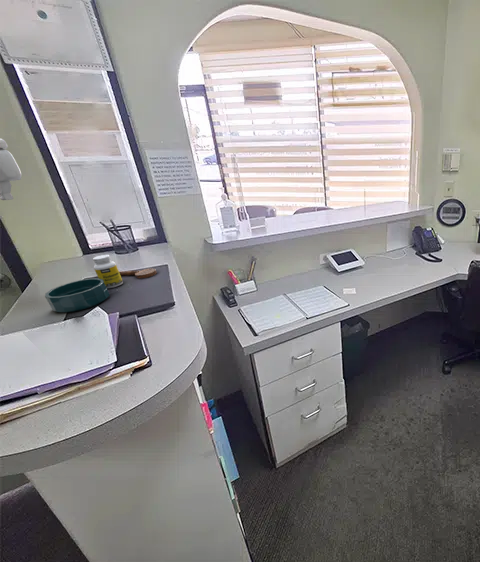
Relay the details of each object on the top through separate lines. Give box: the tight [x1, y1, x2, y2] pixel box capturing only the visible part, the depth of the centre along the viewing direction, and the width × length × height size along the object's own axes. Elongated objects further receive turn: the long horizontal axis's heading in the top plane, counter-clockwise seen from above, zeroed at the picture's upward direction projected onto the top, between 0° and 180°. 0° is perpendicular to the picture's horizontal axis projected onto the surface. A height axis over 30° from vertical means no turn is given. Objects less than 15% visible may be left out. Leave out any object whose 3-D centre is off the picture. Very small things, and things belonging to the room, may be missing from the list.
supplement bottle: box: [92, 254, 124, 289], centre depth 97 cm, size 5×5×10 cm
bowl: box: [44, 277, 110, 313], centre depth 88 cm, size 12×12×5 cm
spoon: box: [119, 267, 158, 279], centre depth 107 cm, size 21×6×2 cm, turn 87°
